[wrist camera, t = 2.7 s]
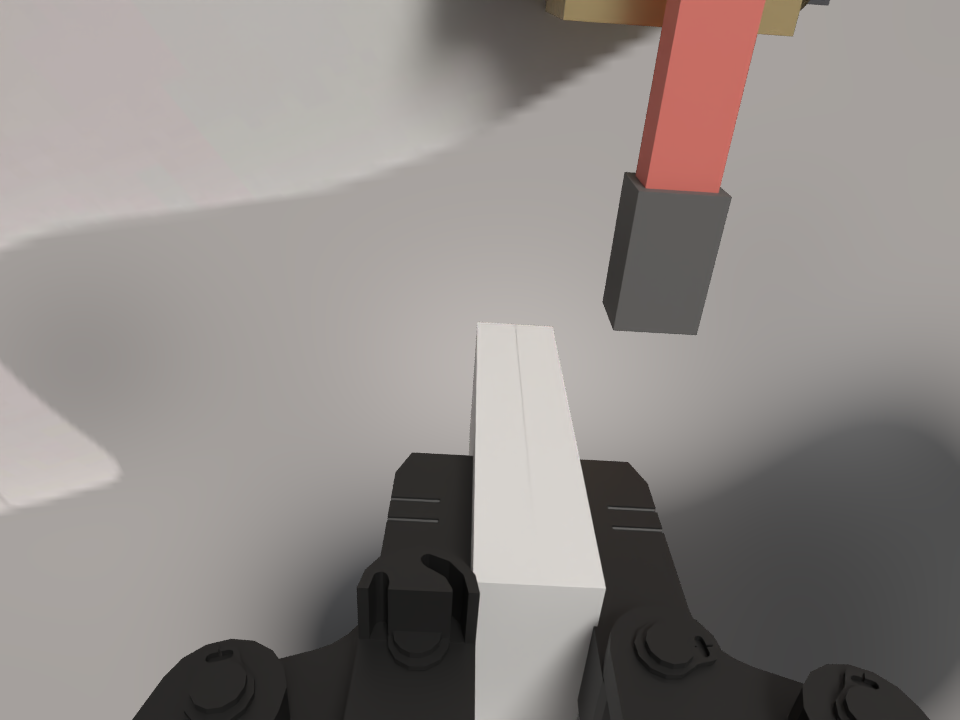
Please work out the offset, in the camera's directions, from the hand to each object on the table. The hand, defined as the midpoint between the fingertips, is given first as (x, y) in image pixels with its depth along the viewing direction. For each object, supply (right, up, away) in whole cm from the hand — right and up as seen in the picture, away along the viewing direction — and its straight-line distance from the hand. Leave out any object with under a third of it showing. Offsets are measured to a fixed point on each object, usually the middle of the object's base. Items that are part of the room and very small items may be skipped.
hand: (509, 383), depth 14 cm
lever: (+6, +9, +8) cm, 14 cm away
